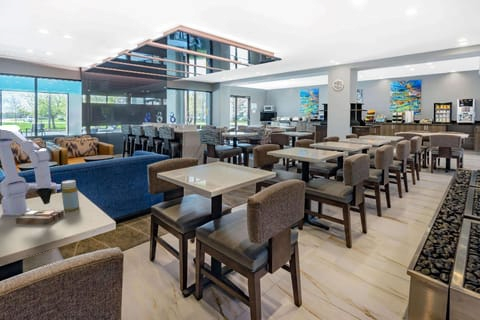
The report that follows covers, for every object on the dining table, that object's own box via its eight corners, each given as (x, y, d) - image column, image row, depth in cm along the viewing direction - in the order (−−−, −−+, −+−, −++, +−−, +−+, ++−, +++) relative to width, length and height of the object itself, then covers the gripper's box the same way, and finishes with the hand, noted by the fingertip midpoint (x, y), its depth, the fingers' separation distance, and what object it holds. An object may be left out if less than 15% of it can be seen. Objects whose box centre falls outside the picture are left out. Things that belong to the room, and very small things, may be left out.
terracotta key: (41, 220, 131) (40, 214, 131) (47, 216, 135) (47, 210, 135) (49, 220, 131) (49, 214, 130) (55, 216, 135) (55, 210, 134)
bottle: (72, 212, 143) (69, 183, 140) (60, 211, 144) (57, 183, 141) (82, 207, 150) (79, 180, 147) (71, 206, 151) (68, 179, 148)
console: (16, 223, 129) (15, 217, 128) (32, 215, 139) (32, 209, 138) (49, 224, 128) (48, 218, 128) (64, 216, 138) (63, 210, 137)
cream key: (25, 219, 132) (24, 213, 131) (31, 216, 136) (31, 210, 135) (33, 219, 131) (32, 213, 131) (39, 216, 135) (39, 210, 135)
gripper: (20, 177, 125) (25, 206, 128) (51, 178, 125) (55, 206, 127) (32, 173, 132) (36, 200, 135) (62, 174, 132) (65, 201, 134)
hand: (46, 203), depth 132 cm, fingers closed
